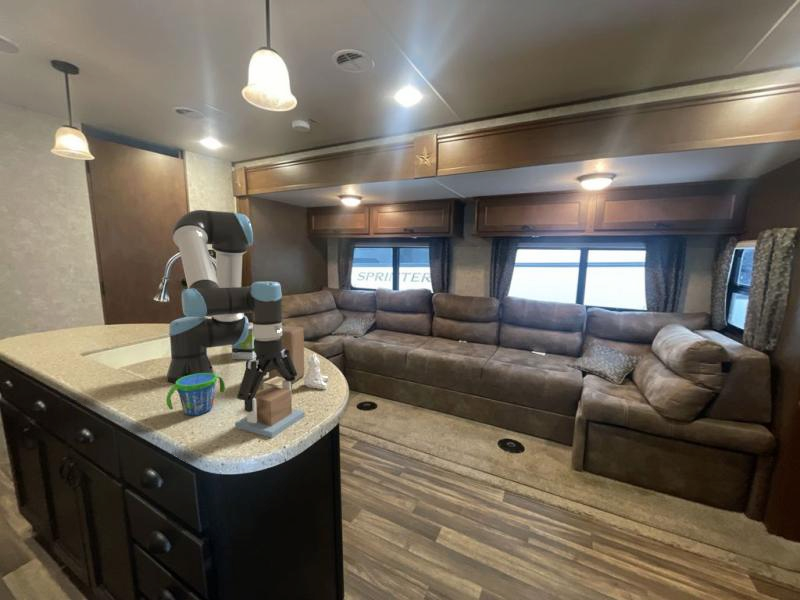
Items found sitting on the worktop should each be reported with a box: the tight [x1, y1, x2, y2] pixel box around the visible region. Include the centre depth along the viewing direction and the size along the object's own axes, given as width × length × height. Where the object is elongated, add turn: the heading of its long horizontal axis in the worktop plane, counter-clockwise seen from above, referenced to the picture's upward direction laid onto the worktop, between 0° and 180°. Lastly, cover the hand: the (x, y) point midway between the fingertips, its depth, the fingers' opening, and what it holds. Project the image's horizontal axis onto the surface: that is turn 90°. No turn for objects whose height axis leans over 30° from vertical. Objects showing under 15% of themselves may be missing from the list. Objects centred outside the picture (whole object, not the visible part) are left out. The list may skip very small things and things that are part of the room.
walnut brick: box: [254, 386, 293, 426], centre depth 93 cm, size 8×8×7 cm
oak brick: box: [262, 377, 293, 395], centre depth 106 cm, size 6×6×7 cm
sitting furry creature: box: [303, 353, 329, 391], centre depth 120 cm, size 10×9×12 cm
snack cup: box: [166, 373, 226, 416], centre depth 99 cm, size 16×10×10 cm
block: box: [268, 325, 305, 384], centre depth 125 cm, size 10×10×20 cm
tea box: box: [231, 322, 256, 361], centre depth 156 cm, size 15×10×15 cm, turn 179°
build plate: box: [234, 408, 306, 439], centre depth 93 cm, size 13×13×2 cm
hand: (270, 411), depth 93 cm, fingers open, 13 cm apart
